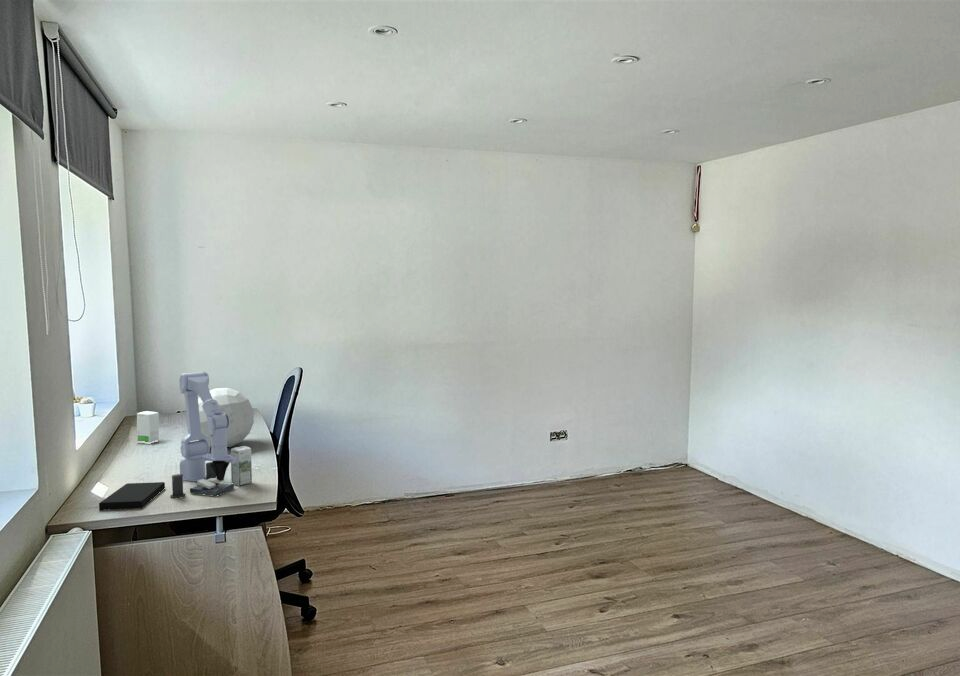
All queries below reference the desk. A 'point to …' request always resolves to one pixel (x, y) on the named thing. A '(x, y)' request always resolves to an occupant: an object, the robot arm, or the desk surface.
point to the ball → (230, 414)
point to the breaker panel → (212, 489)
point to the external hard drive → (132, 496)
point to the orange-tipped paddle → (214, 480)
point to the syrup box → (241, 466)
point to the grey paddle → (206, 483)
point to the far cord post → (209, 471)
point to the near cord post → (177, 486)
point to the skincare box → (147, 426)
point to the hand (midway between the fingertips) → (220, 480)
